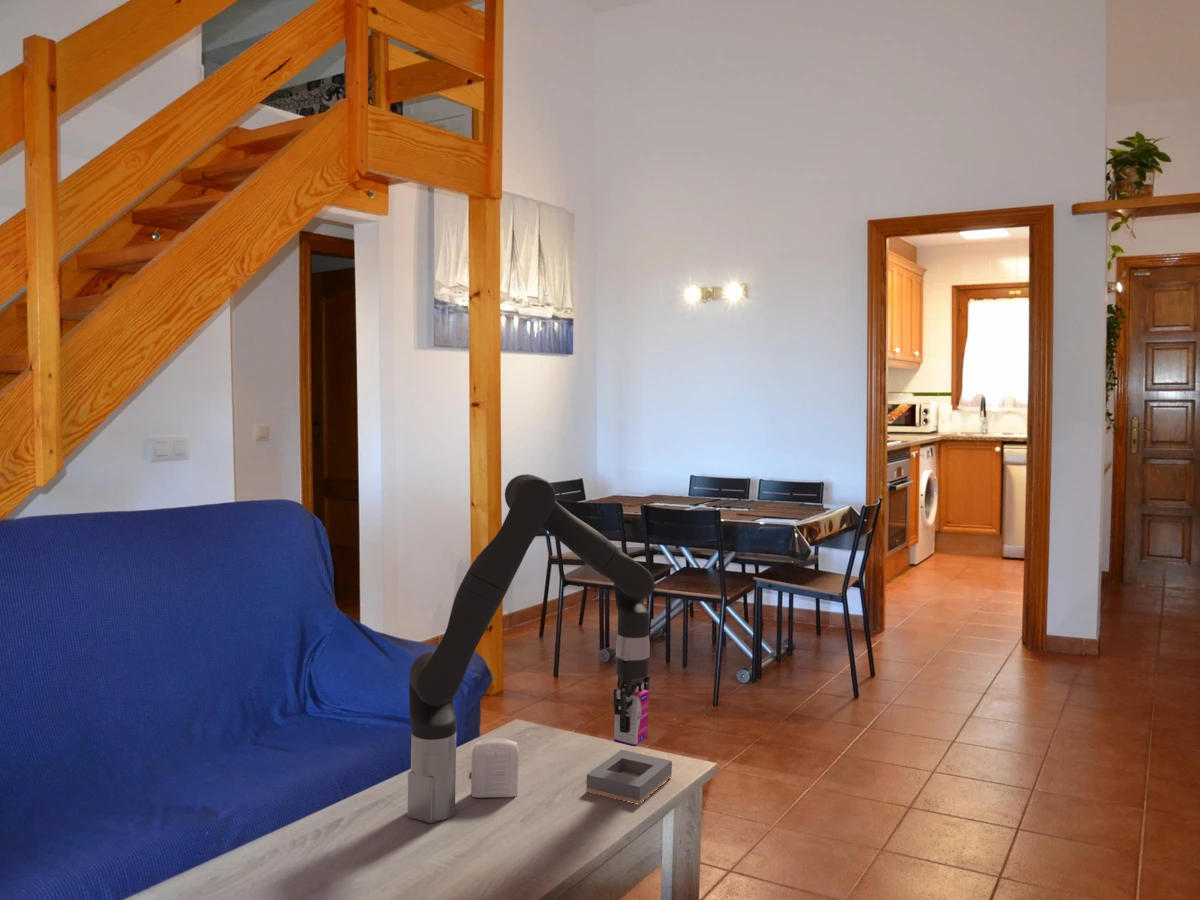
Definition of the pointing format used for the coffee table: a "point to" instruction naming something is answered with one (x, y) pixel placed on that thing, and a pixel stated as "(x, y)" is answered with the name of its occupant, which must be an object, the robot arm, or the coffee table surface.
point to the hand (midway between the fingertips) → (631, 727)
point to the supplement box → (634, 721)
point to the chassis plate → (629, 776)
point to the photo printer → (495, 768)
